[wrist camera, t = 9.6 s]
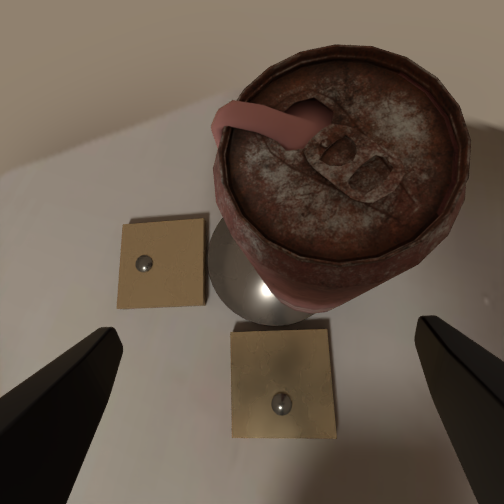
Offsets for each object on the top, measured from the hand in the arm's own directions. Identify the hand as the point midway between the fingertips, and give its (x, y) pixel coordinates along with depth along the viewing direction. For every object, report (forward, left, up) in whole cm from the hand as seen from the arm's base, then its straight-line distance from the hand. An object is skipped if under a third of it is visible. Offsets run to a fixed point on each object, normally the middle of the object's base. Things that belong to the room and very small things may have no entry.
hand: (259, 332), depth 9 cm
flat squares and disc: (+2, +3, -11) cm, 12 cm away
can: (+4, -2, -11) cm, 12 cm away
